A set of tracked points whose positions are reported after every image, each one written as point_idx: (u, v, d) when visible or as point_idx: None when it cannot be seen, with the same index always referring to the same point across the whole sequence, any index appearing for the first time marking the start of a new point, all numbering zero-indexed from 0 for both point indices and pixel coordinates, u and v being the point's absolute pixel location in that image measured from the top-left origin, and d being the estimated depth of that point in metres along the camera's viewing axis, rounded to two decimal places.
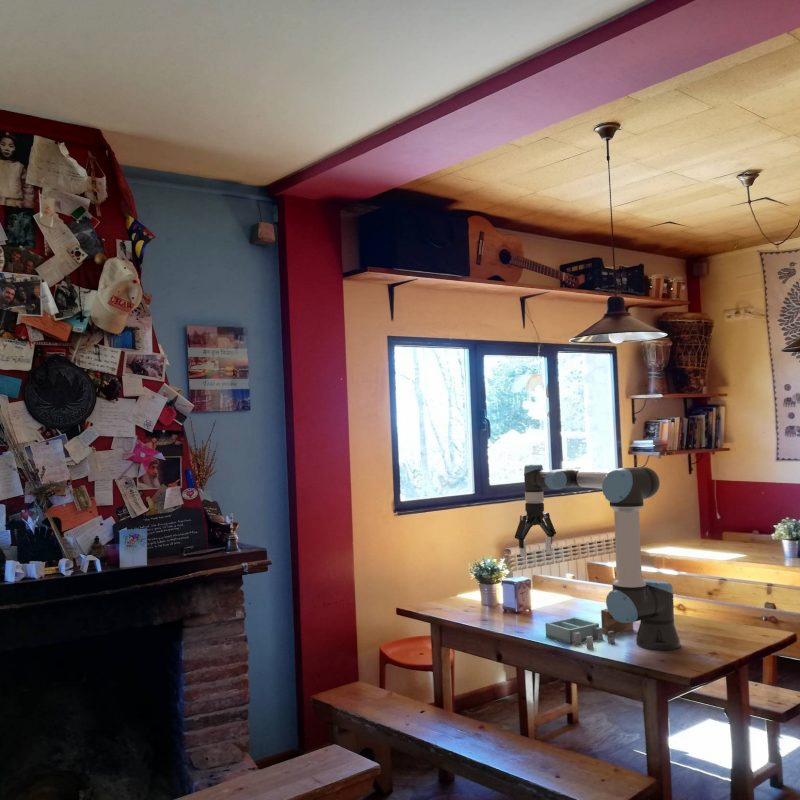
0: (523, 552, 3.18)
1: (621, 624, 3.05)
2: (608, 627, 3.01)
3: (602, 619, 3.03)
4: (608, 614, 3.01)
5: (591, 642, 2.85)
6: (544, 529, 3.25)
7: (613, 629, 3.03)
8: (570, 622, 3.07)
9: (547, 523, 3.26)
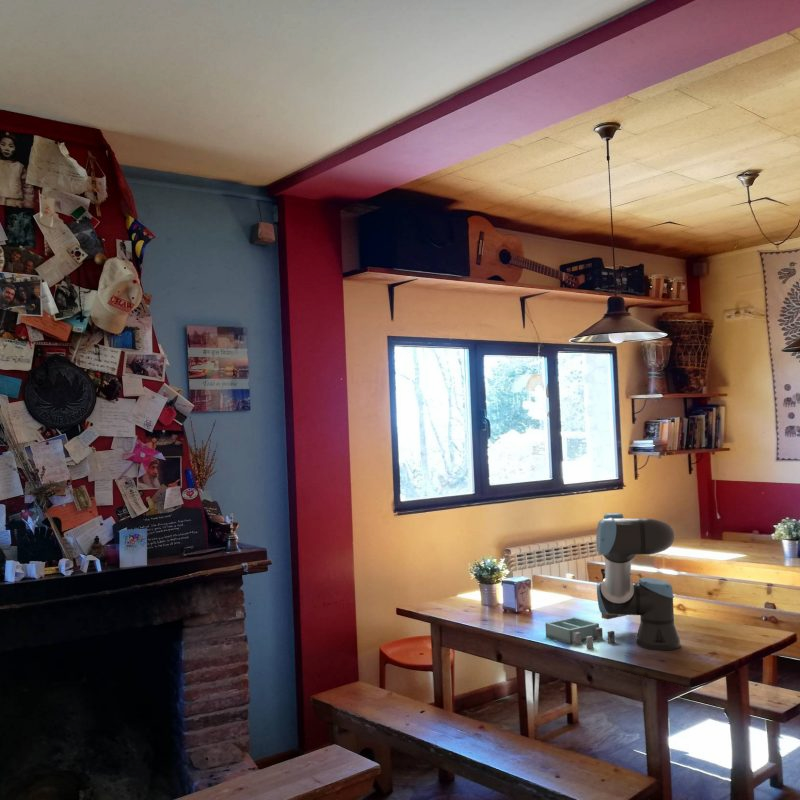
0: None
1: None
2: None
3: None
4: None
5: (591, 642, 2.85)
6: None
7: None
8: (570, 622, 3.07)
9: None
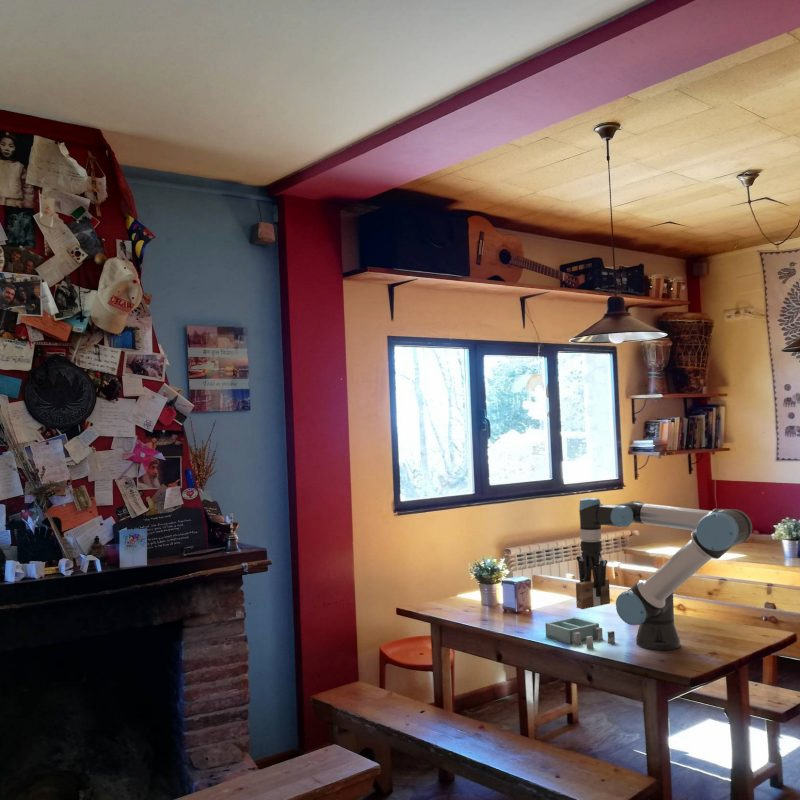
0: None
1: None
2: (583, 601, 2.86)
3: (577, 592, 2.88)
4: (583, 587, 2.86)
5: (591, 642, 2.85)
6: None
7: (589, 602, 2.88)
8: (570, 622, 3.07)
9: None
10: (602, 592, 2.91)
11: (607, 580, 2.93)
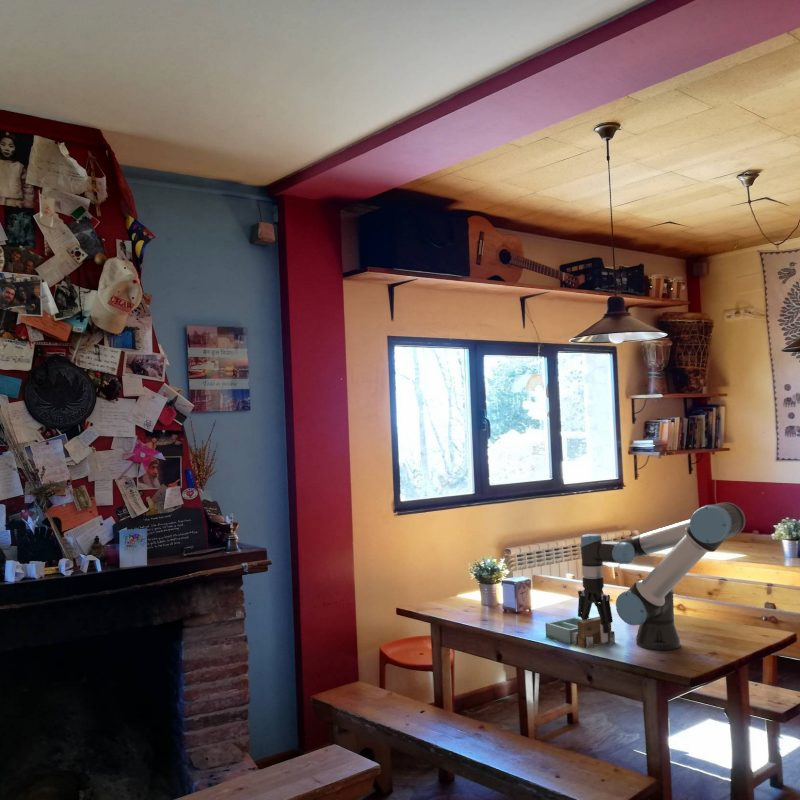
0: None
1: (599, 636, 2.89)
2: (585, 639, 2.86)
3: (578, 631, 2.88)
4: (585, 625, 2.86)
5: (591, 642, 2.85)
6: None
7: None
8: (570, 622, 3.07)
9: None
10: None
11: None
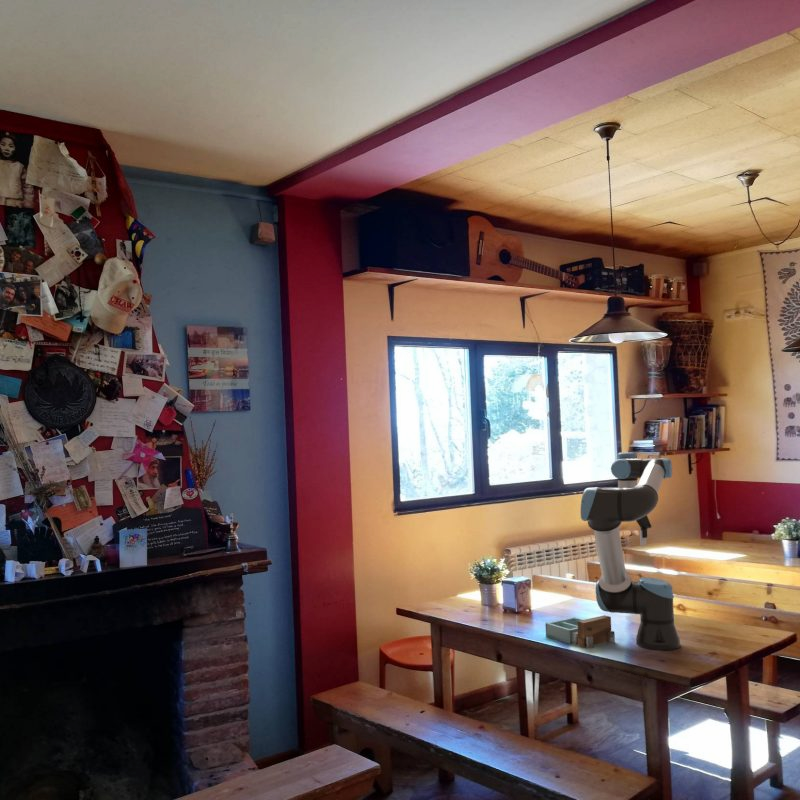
0: None
1: (599, 636, 2.89)
2: (585, 639, 2.86)
3: (578, 631, 2.88)
4: (585, 625, 2.86)
5: (591, 642, 2.85)
6: None
7: None
8: (570, 622, 3.07)
9: None
10: (604, 630, 2.91)
11: (609, 618, 2.93)
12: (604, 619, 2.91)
